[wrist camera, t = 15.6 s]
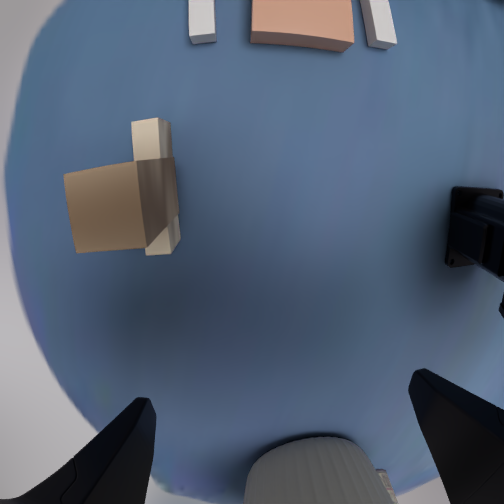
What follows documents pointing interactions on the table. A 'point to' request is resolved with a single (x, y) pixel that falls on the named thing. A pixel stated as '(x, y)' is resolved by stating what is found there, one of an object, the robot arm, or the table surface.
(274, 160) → the table surface
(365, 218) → the table surface
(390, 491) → the aerosol can
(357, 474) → the canister
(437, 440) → the robot arm
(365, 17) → the corral
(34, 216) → the table surface
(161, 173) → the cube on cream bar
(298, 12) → the tile
